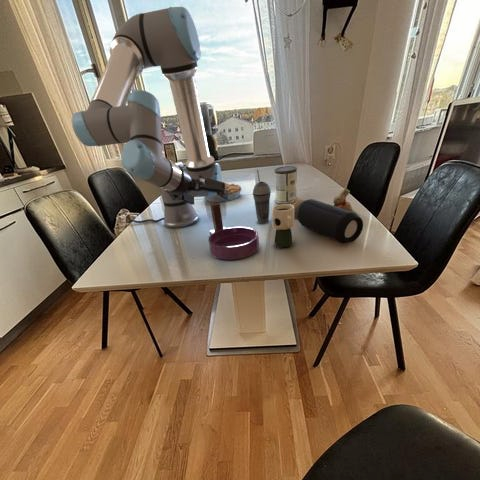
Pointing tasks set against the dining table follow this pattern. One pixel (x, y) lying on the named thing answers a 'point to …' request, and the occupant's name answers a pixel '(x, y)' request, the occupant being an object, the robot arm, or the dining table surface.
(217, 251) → the bowl
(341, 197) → the chocolate bunny
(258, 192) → the beverage cup
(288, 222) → the character mug
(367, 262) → the dining table surface
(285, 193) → the coffee can
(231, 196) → the pie
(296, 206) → the bread roll
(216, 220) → the wooden stamp
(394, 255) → the dining table surface
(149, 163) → the robot arm
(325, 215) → the portable speaker
